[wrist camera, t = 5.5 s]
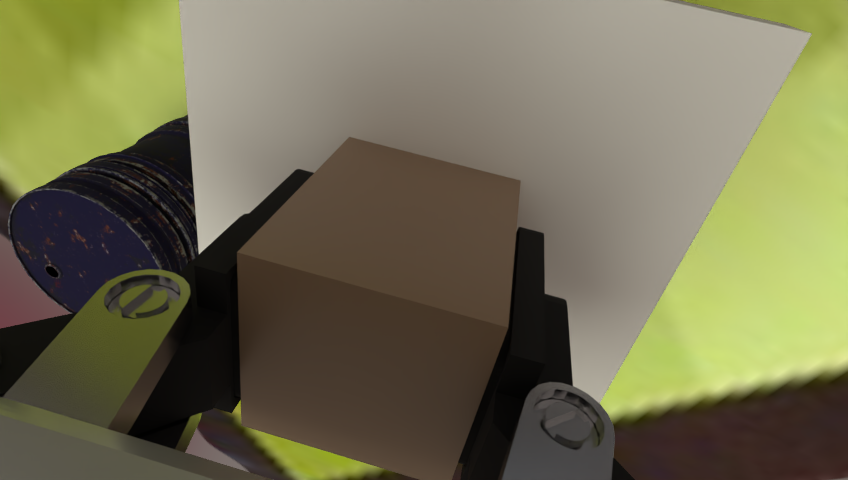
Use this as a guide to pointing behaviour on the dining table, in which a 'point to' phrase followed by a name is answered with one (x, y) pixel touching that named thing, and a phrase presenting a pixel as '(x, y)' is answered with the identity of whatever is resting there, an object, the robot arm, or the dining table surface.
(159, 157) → the storage jar
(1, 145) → the dining table surface
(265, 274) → the lid
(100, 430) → the robot arm
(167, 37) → the dining table surface
